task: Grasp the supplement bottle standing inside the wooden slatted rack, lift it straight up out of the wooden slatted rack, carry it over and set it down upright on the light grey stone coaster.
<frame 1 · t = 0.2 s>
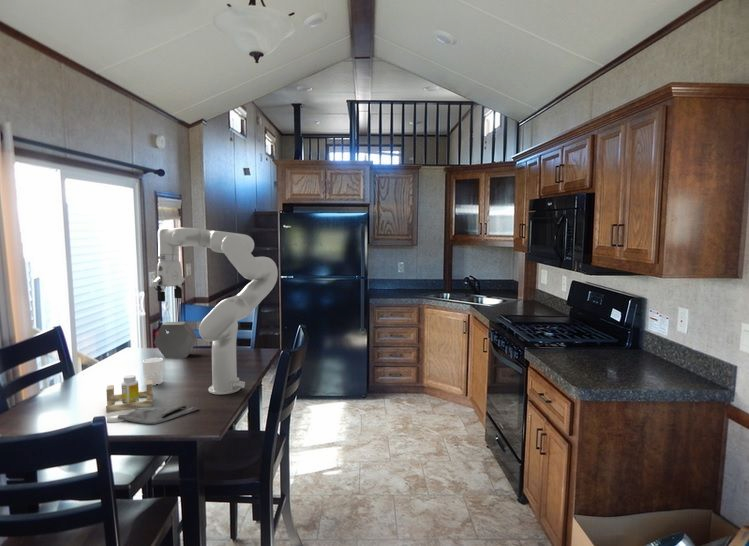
hand: (170, 299, 190), 36 cm above the table, tool pointing down, fingers open, 9 cm apart
white cup: (153, 383, 196), on the table
coaster: (119, 416, 160), on the table
supplement bottle: (130, 403, 173), resting in wooden slatted rack
wooden slatted rack: (130, 402, 173), on the table
planter: (176, 356, 240), on the table
cloth: (157, 416, 160), on the table, touching coaster
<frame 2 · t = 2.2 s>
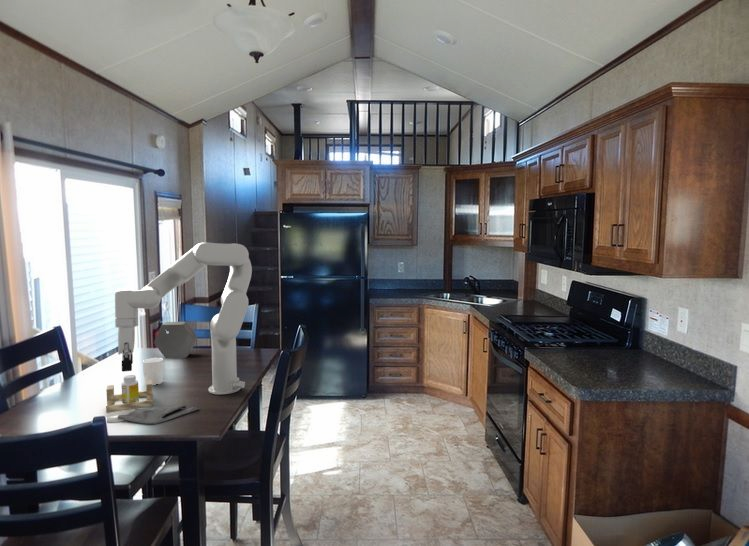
hand: (127, 367, 172), 14 cm above the table, tool pointing down, fingers open, 9 cm apart
nothing on the table moved.
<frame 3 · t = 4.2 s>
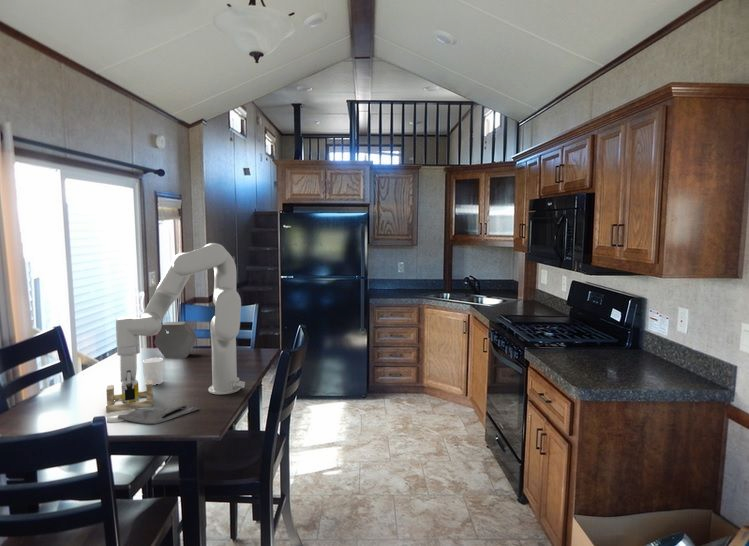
hand: (130, 396, 173), 3 cm above the table, tool pointing down, fingers closed on supplement bottle, 5 cm apart
supplement bottle: (130, 403, 173), resting in wooden slatted rack, touching gripper
everything else where it was.
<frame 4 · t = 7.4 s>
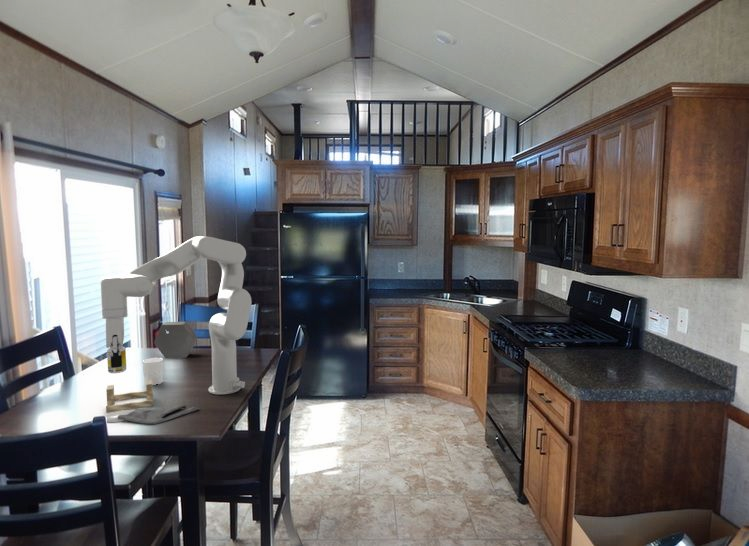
hand: (117, 364, 159), 19 cm above the table, tool pointing down, fingers closed on supplement bottle, 5 cm apart
supplement bottle: (117, 372, 159), point 16 cm above the table, touching gripper
everything else where it was.
when the fingers open (4 cm above the table, at t = 10.7 s): supplement bottle stays where it is, resting on cloth.
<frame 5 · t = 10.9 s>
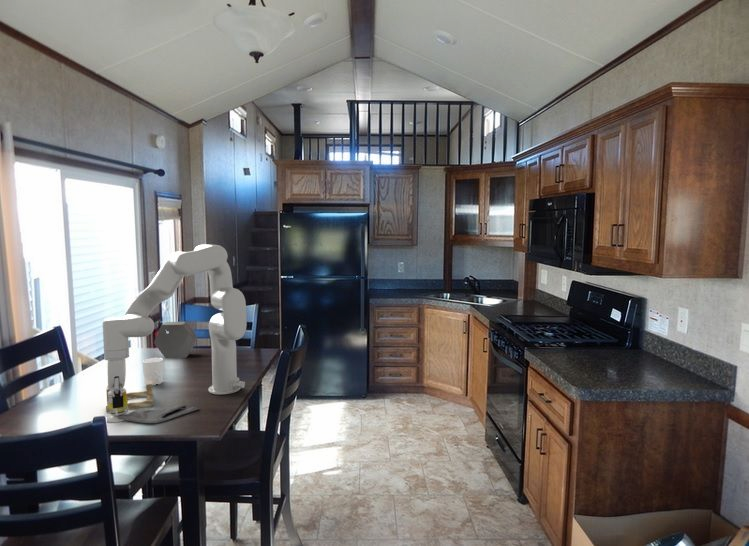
hand: (118, 403, 160), 5 cm above the table, tool pointing down, fingers open, 7 cm apart
supplement bottle: (119, 414, 160), point 1 cm above the table, touching cloth, gripper
cloth: (157, 416, 160), on the table, touching supplement bottle, coaster
everything else where it was.
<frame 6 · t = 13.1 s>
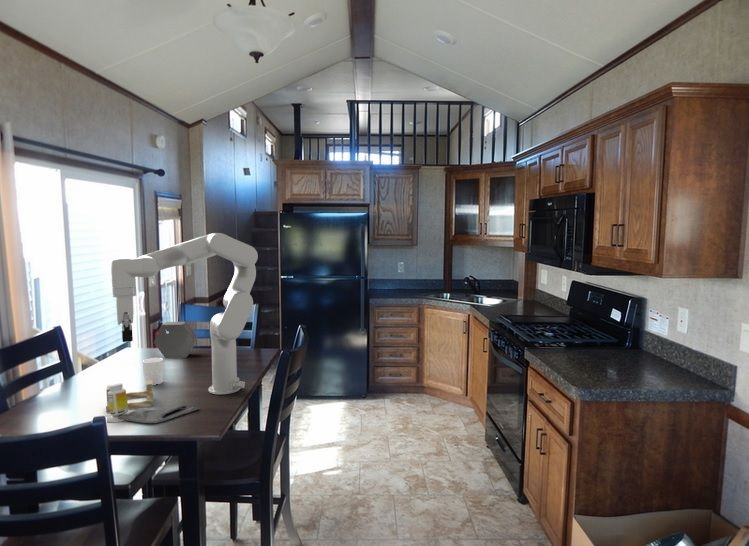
hand: (127, 338, 168), 25 cm above the table, tool pointing down, fingers open, 9 cm apart
supplement bottle: (119, 414, 160), point 1 cm above the table, touching cloth, coaster
everything else where it was.
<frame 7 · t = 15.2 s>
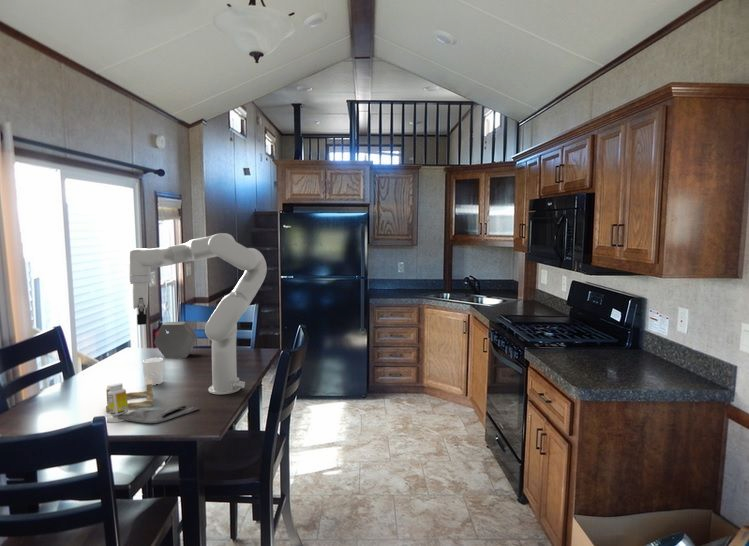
hand: (142, 322, 183), 28 cm above the table, tool pointing down, fingers open, 9 cm apart
nothing on the table moved.
at the end: supplement bottle 0.2 cm from the coaster (horizontally); supplement bottle tilted 9°; the gripper is holding nothing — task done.
